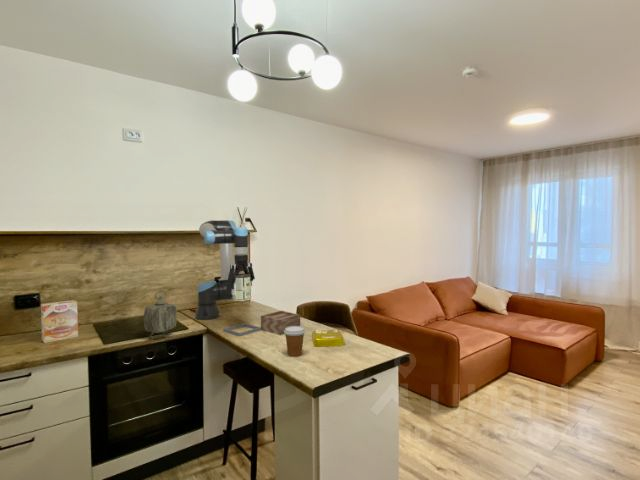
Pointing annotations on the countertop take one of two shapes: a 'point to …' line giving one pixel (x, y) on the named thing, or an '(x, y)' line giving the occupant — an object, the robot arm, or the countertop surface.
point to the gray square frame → (229, 330)
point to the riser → (279, 321)
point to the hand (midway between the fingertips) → (241, 293)
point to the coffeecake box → (59, 321)
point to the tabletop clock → (160, 317)
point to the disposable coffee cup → (294, 340)
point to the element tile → (327, 338)
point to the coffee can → (242, 287)
